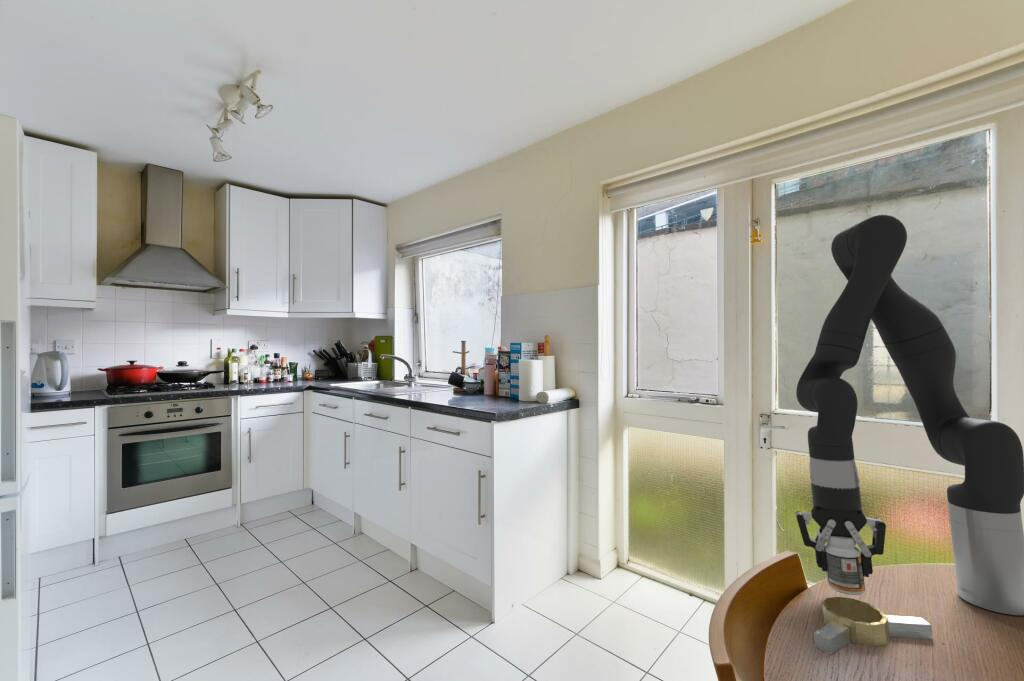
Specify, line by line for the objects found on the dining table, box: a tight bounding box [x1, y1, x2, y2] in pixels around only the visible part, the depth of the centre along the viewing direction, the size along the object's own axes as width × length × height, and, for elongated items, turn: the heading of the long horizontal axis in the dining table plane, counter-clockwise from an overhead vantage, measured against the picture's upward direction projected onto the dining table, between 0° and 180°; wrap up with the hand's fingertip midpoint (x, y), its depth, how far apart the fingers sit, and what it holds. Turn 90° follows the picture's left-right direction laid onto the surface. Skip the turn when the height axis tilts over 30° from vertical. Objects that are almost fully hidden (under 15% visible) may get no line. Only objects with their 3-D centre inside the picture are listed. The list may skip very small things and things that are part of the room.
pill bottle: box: [823, 534, 866, 596], centre depth 82 cm, size 6×6×10 cm
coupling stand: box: [813, 596, 934, 655], centre depth 73 cm, size 20×9×3 cm, turn 98°
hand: (844, 572), depth 82 cm, fingers closed on pill bottle, 5 cm apart
